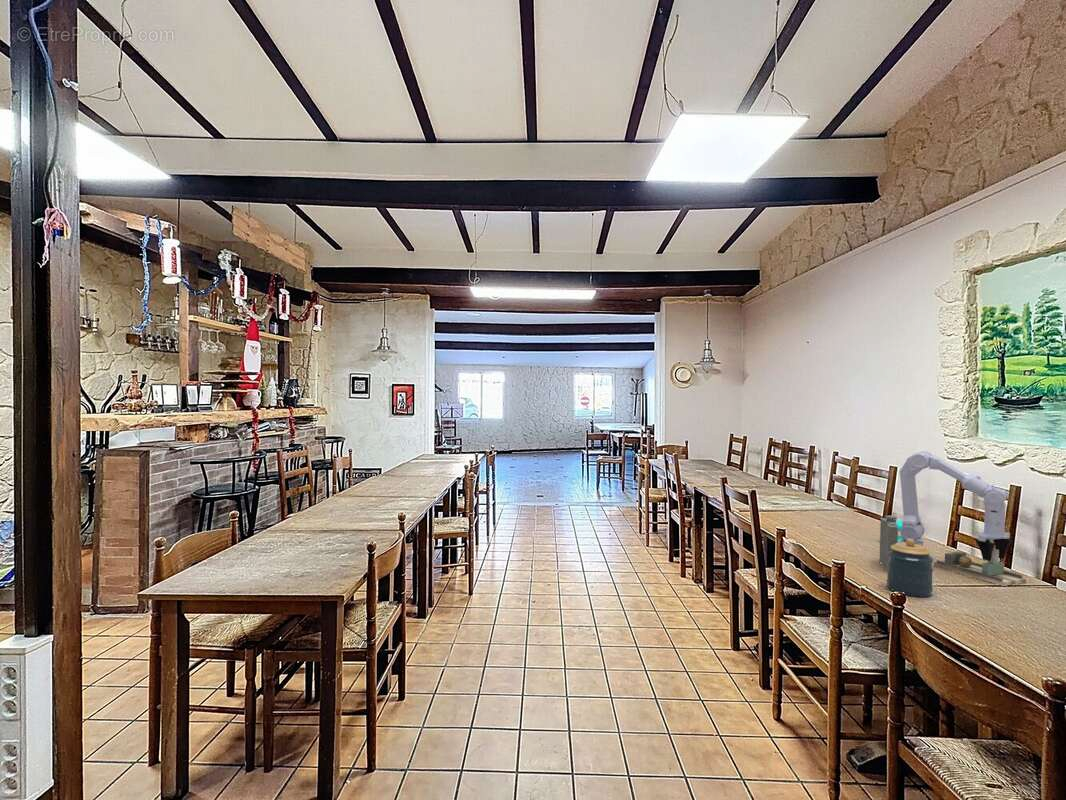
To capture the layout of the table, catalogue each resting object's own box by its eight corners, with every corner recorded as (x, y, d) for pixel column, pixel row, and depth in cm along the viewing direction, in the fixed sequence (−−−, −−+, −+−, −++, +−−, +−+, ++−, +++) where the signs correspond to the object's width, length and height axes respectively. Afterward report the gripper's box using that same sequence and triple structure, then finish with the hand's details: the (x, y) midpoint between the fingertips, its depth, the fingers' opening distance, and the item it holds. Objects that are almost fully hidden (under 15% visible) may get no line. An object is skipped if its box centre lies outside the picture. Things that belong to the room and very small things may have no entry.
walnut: (967, 568, 211) (967, 558, 211) (956, 565, 215) (956, 555, 215) (974, 567, 212) (974, 557, 212) (963, 564, 216) (963, 554, 216)
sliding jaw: (989, 576, 202) (990, 551, 202) (980, 573, 205) (981, 549, 204) (1005, 574, 205) (1006, 549, 205) (996, 571, 208) (997, 547, 208)
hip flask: (878, 561, 224) (880, 511, 223) (890, 562, 222) (891, 512, 222) (887, 573, 209) (889, 519, 209) (900, 575, 207) (901, 520, 207)
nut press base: (1004, 586, 196) (1004, 570, 196) (933, 566, 219) (934, 551, 218) (1025, 583, 200) (1026, 567, 200) (954, 563, 223) (955, 549, 223)
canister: (922, 586, 196) (923, 535, 195) (940, 599, 183) (941, 545, 183) (880, 582, 199) (881, 532, 198) (895, 595, 186) (896, 542, 186)
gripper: (993, 525, 198) (992, 564, 198) (1019, 523, 203) (1018, 560, 203) (972, 521, 205) (971, 558, 205) (997, 518, 210) (996, 555, 210)
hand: (993, 559), depth 205 cm, fingers open, 7 cm apart
